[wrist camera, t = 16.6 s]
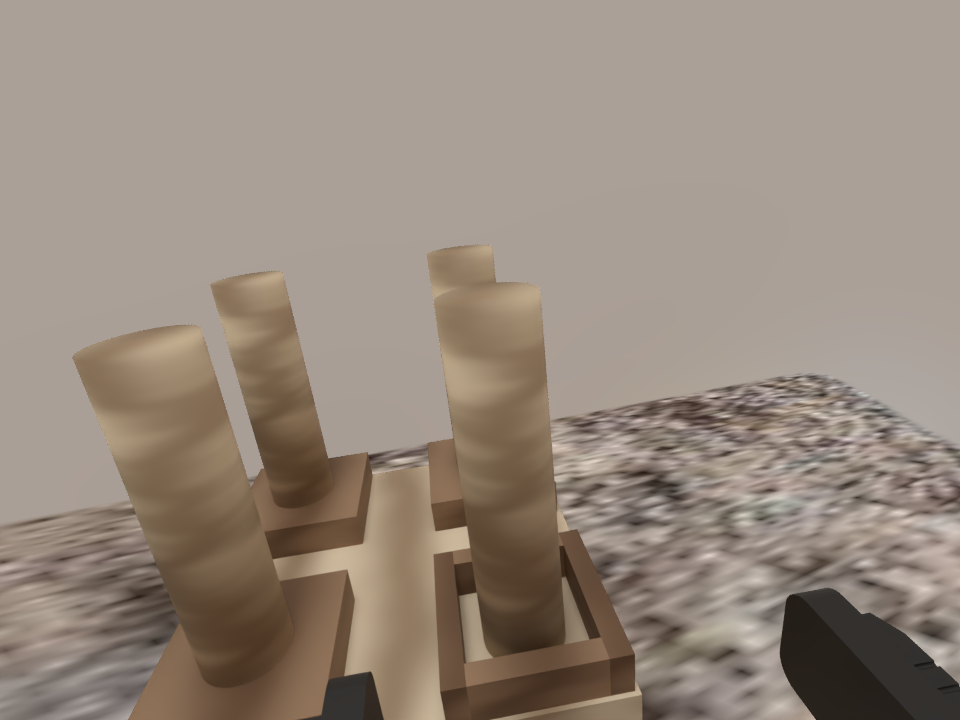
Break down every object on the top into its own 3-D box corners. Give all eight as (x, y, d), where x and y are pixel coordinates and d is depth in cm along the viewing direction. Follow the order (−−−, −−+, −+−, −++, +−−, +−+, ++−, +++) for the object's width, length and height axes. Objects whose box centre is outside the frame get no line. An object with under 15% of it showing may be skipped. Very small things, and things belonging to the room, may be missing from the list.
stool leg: (481, 670, 22) (426, 313, 17) (485, 601, 26) (440, 288, 20) (569, 668, 22) (543, 302, 16) (561, 598, 25) (537, 278, 20)
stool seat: (146, 849, 20) (-94, 407, 14) (276, 525, 39) (201, 275, 32) (642, 746, 22) (639, 303, 15) (536, 482, 40) (515, 234, 34)
